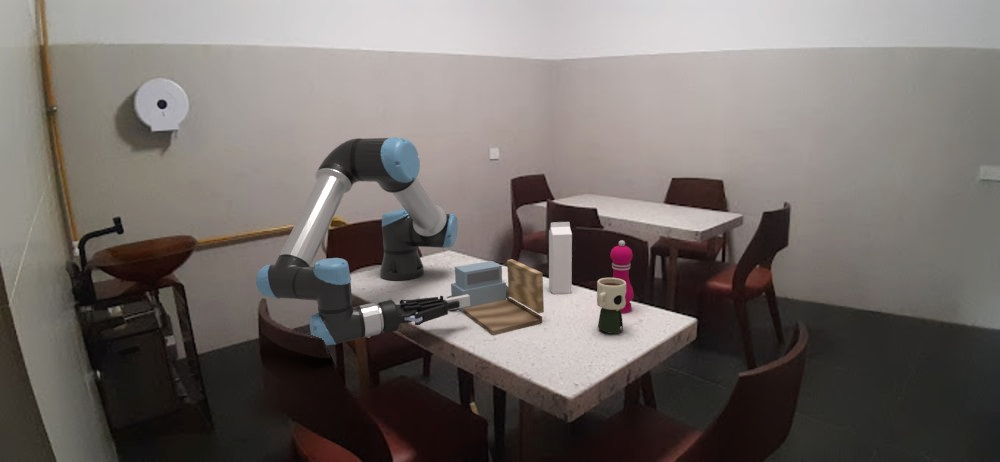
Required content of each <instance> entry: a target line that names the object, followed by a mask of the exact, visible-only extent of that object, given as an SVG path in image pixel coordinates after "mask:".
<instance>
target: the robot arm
mask: <svg viewBox="0 0 1000 462" xmlns="http://www.w3.org/2000/svg"><path fill="white" fill-rule="evenodd" d="M420 161H421V160H420V157H419V152H418V149H417V148H416V146H415V144H414V143H413V142H412V141H411V140H409V139H407V138H398V137H393V136H392V137H382V138H381V137H376V138H373V137H371V138H352V139H348V140H346V141H344V142H342V143H340V144H339V145H337V146H336V147H335V148H334V149H332V150H331V152H330V153H329V154H328V155H327V156H325V158H324V159H323V161H322V162H321V164H320V165H319V167H318V169H317V171H316V173H315V179H316V182H315V184H314V185H313V188H312V190H311V192H310V193H309V195H308V198H307V199H306V202H305V204H304V206H303V207H302V209H301V212H300V213H299V216H298V218H297V220H296V222H295V224H294V226H293V228H292V230H291V231H290V234H289V236H288V237H287V240H286V241H285V244H284V245H283V248H282V249H281V252H280V254H279V255H278V258H277V259H276V261H275V263H274V264H271V263H270V264H266V265H264V266H262V267H261V268H260V269H259V270H258V272H257V275H256V278H255V286H256V288H257V291H258V292H259V293H260V295H262V296H264V297H267V298H268V297H269V298H274V299H290V300H291V299H292V300H293V299H294V300H303V301H313V302H314V301H316V304H317V312H316V313H314V314H311V315H310V316H309V321H308V322H309V330H310V336H311V335H313V336H316V337H319V338H322V340H324V342H325V344H326V346H331V345H334V346H336V345H338V344H342V343H346V342H350V341H354V340H359V339H364V338H367V339H370V338H371V337H372V336H377V335H381V333H383V334H388V333H392V332H396V331H398V330H399V328H400V324H409V323H412V322H413V323H414V325H415V326H421V325H422V324H423V323H425V322H426V323H427V322H429V321H432V320H435V319H438V318H441V317H444V316H447V315H449V311H454V310H453V309H455V310H456V309H457V310H459V309H458V308H462V307H467V306H470V296H469V295H468V294H467V295H462V296H456V297H451V298H447V297H446V298H444V295H439V297H438V296H434V297H425V298H423V297H422V298H414V299H400V300H399V304H396V302H395V301H394V300H391V299H388V300H384V301H379V302H377V303H375V302H371V303H366V304H361V305H355V306H353V297H352V284H351V283H352V277H351V275H350V274H351V273H350V268H349V263H348V261H347V260H346V259H344V258H339V257H332V258H329V257H328V258H323V259H319V260H317V261H316V262H315V263H314V260H315V258H316V255H317V254H318V252H319V249H320V248H321V245H322V243H323V241H324V238H325V236H326V234H327V232H328V230H329V228H330V225H331V223H332V221H333V219H334V217H335V214H336V213H337V210H338V208H339V206H340V204H341V201H342V199H343V197H344V195H345V194H346V193H349V191H351V190H352V187H353V186H354V184H356V183H359V182H366V183H367V182H368V183H369V182H372V183H373V182H375V183H377V184H378V186H379V187H380V188H382V190H384V192H387V193H390V194H393V196H394V197H395V198H396V200H397V201H398V203H400V205H401V206H402V208H399V209H394V210H390V211H387V212H385V213H383V215H382V217H381V229H382V240H383V241H382V244H383V258H382V262H381V266H380V269H379V270H380V278H382V279H384V280H387V281H406V280H407V281H408V280H409V281H410V280H413V279H416V278H419V277H421V276H423V275H424V273H425V269H424V268H425V267H424V265H423V262H422V260H421V257H420V255H419V252H418V249H419V248H420V247H421V248H438V249H439V248H441V249H447V248H448V249H451V248H452V247H454V245H455V243H456V241H457V237H458V229H459V228H458V227H459V221H458V217H457V215H456V214H454V213H446V211H445V210H444V208H443V207H441V206H440V205H436V204H435V203H434V201H433V199H432V198H431V196H430V195H429V193H428V191H427V190H426V189H425V187H424V185H423V183H422V182H421V181H420V180H419V177H418V176H419V174H420V169H421V165H420ZM313 263H314V264H313ZM312 264H313V266H312ZM326 346H325V347H326Z"/></svg>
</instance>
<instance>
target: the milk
mask: <svg viewBox="0 0 1000 462" xmlns="http://www.w3.org/2000/svg"><path fill="white" fill-rule="evenodd" d="M572 244H573V233H572V230H571V224H570V221H557V222H555V221H554V222H550V227H549V230H548V289H549V290H550V293H551V294H552V295H560V294H561V295H562V294H572V287H573V285H572V279H573V278H572V277H573V276H572V271H573V269H572V268H573V267H572V266H573V265H572V264H573V263H572V261H573V260H572V258H573V254H572V253H573V249H572V248H573V247H572V246H573V245H572Z"/></svg>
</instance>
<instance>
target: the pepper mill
mask: <svg viewBox="0 0 1000 462" xmlns="http://www.w3.org/2000/svg"><path fill="white" fill-rule="evenodd" d="M609 255H610V259H611V261H612V263H611V268H612V269H613V273H612V274H613V275H612V278H618V279H622V280H624V281H625V282H626V294H625V300H626V304H625V307H624V308H622V309H621V312H622V314H626V313H630V312H631V311H632V303H631V301H632V300H633V299H634V289H633V286H632V284H631V281H630V278H629V277H630V276H629V273H630V272H629V270H630V269H631V265H632V264H631V261H632V260H633V256H634V254H633V251H632V249H631V248H630V247H629V246H627V245H626V242H625V240H622V239H621V240H619V241H618V245H616V246H614V247H613V248H612V249H611V251H610V254H609Z"/></svg>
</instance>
